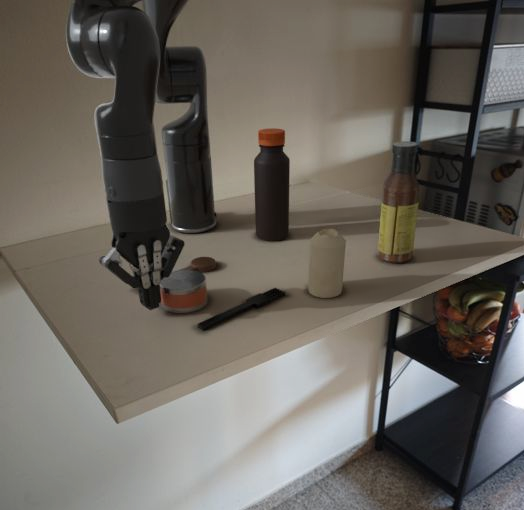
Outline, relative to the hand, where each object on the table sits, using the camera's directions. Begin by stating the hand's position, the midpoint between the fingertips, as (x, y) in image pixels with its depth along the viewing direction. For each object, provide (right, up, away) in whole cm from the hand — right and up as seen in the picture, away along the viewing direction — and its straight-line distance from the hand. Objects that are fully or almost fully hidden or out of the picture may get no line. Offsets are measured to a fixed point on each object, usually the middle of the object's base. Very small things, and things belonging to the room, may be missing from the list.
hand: (151, 307), depth 75 cm
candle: (+27, +3, +7) cm, 28 cm away
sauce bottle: (+41, +10, +17) cm, 45 cm away
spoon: (+2, +6, +12) cm, 14 cm away
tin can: (+4, +1, +4) cm, 6 cm away
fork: (+14, 0, +2) cm, 14 cm away
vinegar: (+19, +17, +27) cm, 37 cm away
